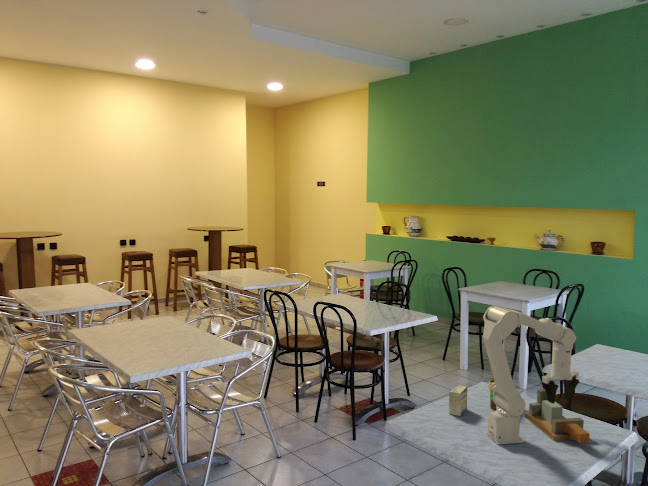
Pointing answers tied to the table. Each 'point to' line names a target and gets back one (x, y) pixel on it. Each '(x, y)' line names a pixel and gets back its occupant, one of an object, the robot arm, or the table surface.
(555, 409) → the block
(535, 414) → the press
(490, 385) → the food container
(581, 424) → the clamp jaw
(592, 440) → the table surface
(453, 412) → the medicine box
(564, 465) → the table surface
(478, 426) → the table surface
